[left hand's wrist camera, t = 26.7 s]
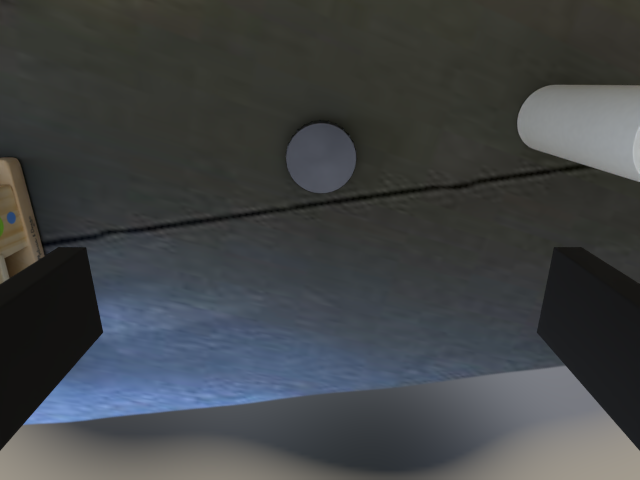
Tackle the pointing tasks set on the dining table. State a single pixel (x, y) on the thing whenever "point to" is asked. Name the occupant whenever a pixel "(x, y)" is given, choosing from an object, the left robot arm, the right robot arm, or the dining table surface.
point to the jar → (586, 125)
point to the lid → (321, 157)
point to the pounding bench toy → (16, 222)
